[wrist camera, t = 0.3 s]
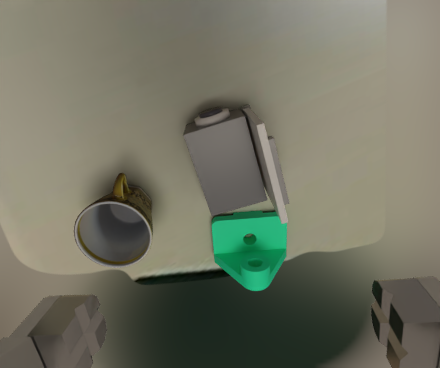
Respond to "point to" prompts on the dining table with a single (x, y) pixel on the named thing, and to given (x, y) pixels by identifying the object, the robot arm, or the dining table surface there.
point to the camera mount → (250, 246)
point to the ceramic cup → (116, 226)
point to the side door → (267, 163)
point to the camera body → (224, 160)
